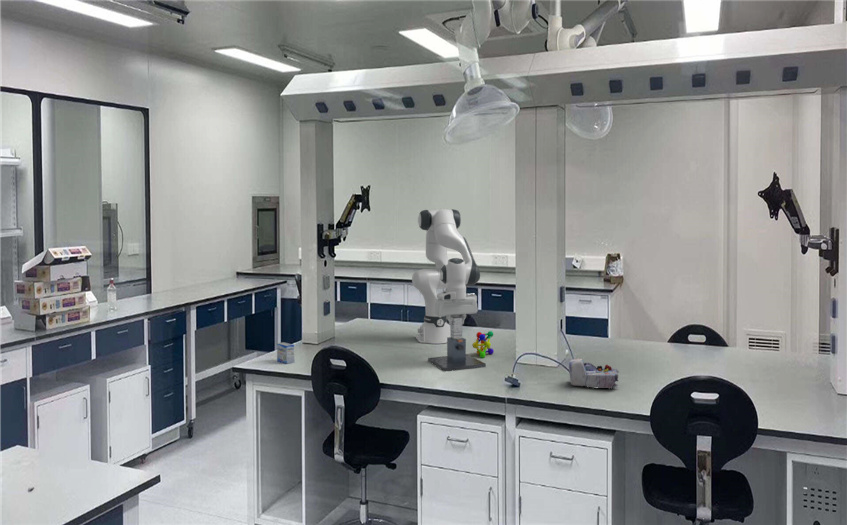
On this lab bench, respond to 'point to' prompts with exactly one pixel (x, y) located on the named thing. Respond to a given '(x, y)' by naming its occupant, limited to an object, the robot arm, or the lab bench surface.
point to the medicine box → (285, 353)
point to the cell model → (592, 375)
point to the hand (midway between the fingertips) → (456, 324)
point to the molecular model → (483, 344)
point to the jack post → (456, 327)
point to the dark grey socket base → (456, 357)
